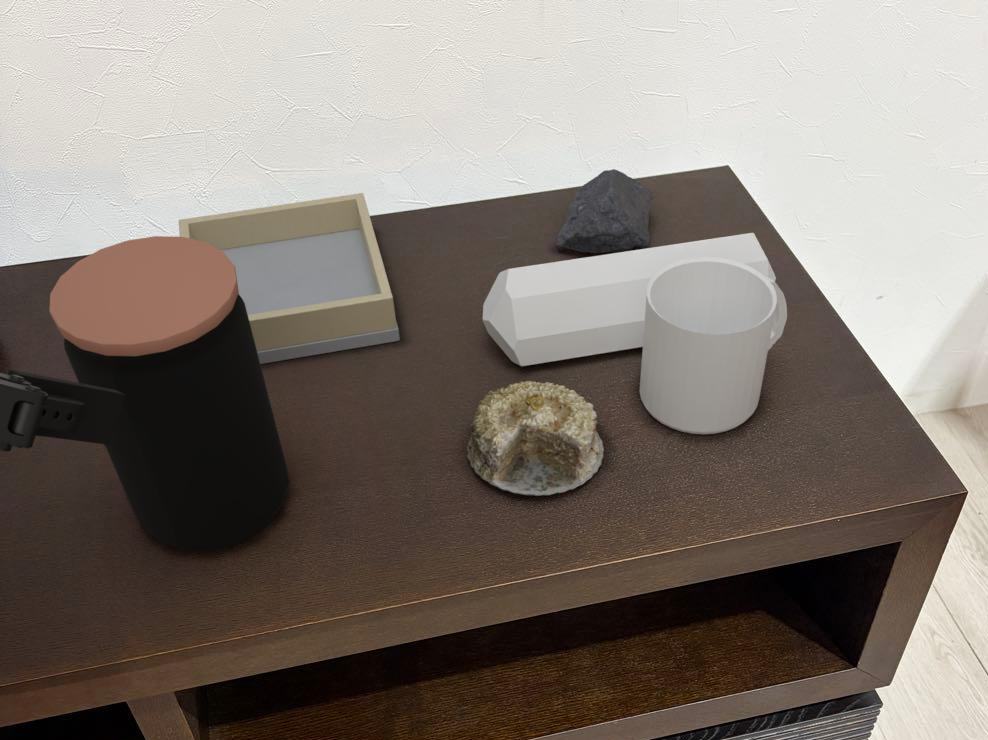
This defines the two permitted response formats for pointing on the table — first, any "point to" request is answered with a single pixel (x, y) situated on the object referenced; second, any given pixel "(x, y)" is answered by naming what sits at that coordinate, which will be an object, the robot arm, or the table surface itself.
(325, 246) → the shallow square crate
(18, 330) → the table surface
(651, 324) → the mug
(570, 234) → the rock
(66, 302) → the coffee jar
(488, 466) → the cake
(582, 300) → the crystal
